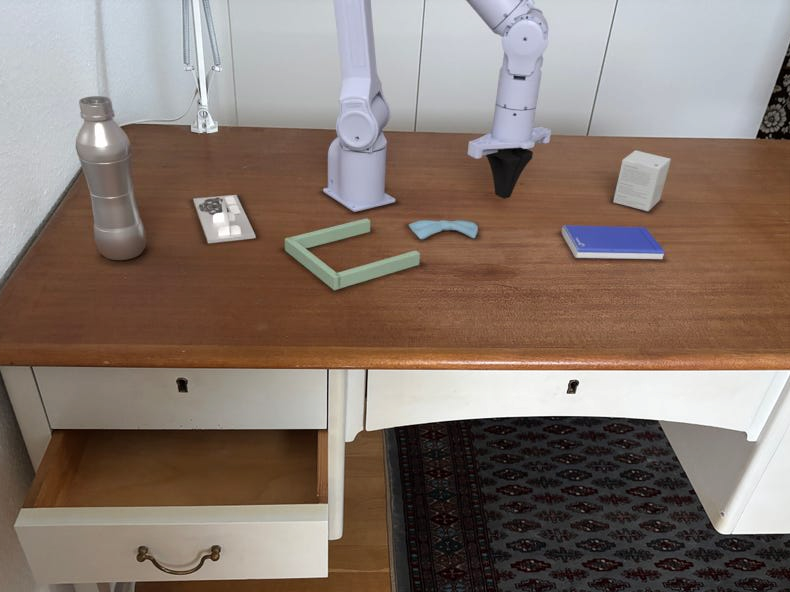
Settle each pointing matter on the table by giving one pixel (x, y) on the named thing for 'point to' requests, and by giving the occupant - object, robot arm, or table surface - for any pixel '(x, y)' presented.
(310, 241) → the bay
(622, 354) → the table surface
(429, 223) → the bow tie
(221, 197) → the grey board with parts
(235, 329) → the table surface
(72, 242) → the table surface
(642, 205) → the product box
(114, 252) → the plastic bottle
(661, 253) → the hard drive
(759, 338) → the table surface
